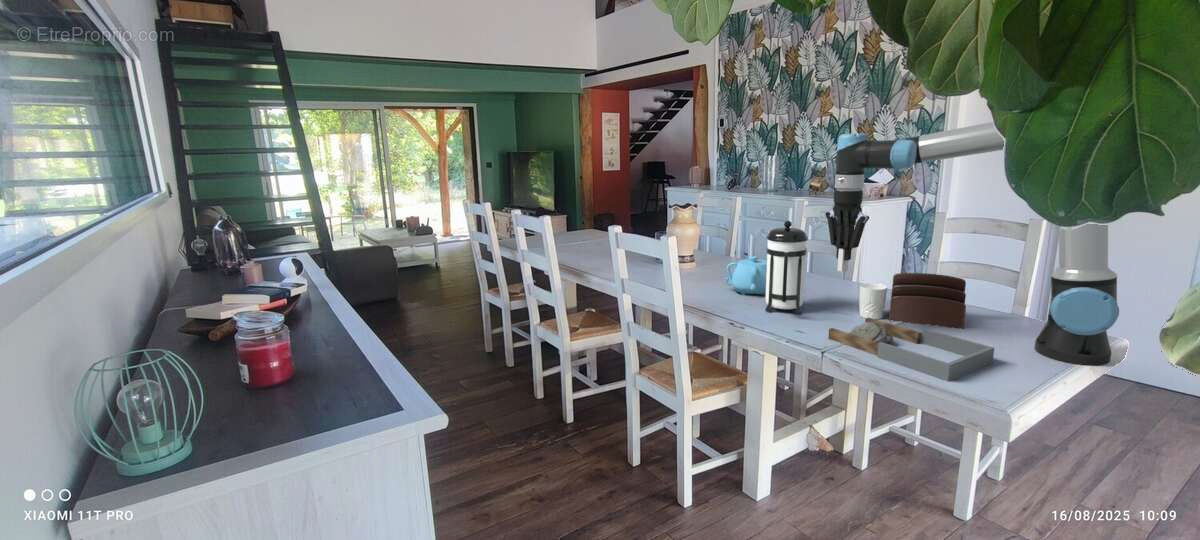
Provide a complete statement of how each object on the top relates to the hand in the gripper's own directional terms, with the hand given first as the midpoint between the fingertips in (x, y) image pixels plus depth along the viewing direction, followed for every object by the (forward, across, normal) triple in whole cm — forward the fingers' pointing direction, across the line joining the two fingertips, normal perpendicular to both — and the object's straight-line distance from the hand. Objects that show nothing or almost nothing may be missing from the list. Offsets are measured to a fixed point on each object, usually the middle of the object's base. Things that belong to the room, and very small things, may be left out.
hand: (842, 270), depth 164 cm
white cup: (+19, -2, +19) cm, 27 cm away
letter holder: (+19, +9, +29) cm, 36 cm away
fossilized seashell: (+19, +11, -1) cm, 22 cm away
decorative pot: (+19, -45, +10) cm, 50 cm away
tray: (+18, +29, 0) cm, 34 cm away
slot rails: (+18, +12, 0) cm, 22 cm away
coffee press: (+19, -22, +2) cm, 29 cm away
